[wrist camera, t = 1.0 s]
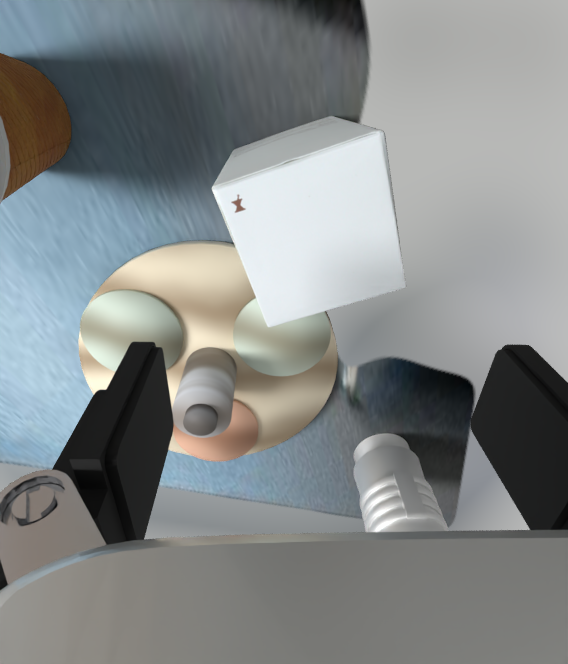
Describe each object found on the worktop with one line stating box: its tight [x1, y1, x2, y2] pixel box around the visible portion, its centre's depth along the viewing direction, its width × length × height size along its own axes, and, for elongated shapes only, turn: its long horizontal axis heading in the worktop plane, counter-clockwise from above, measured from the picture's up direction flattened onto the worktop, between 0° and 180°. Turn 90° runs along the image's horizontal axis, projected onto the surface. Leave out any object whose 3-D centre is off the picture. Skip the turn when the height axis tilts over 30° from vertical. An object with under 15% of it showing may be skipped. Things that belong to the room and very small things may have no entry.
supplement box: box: [212, 116, 407, 327], centre depth 23 cm, size 7×7×13 cm
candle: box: [354, 433, 448, 532], centre depth 36 cm, size 7×7×15 cm
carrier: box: [79, 240, 338, 461], centre depth 32 cm, size 22×22×8 cm
